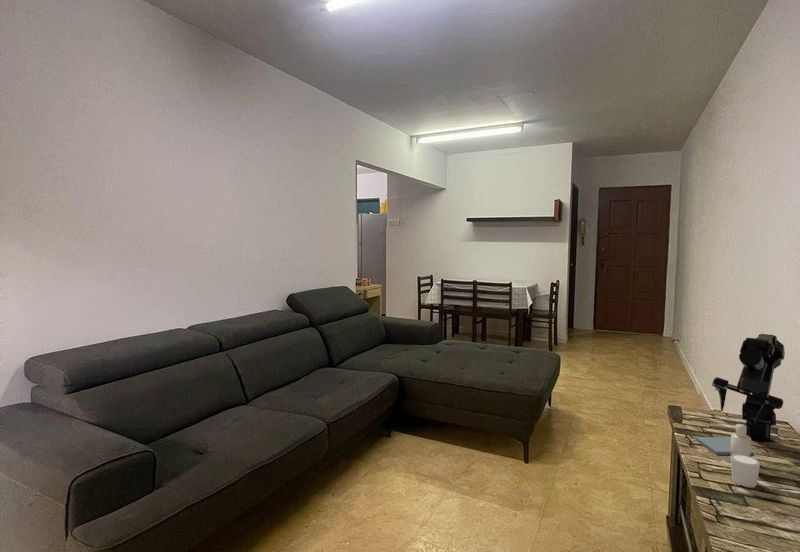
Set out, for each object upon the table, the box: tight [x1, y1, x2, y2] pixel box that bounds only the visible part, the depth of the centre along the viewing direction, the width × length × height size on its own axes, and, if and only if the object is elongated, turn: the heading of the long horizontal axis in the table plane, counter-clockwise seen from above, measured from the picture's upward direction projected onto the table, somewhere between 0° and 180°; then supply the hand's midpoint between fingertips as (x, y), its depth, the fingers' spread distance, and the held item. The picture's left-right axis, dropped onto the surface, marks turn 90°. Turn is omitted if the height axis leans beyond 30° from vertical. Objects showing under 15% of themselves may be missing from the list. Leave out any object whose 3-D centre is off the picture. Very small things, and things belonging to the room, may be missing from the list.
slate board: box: [695, 436, 754, 456], centre depth 149 cm, size 12×11×1 cm
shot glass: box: [730, 454, 761, 488], centre depth 127 cm, size 7×7×7 cm
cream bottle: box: [729, 423, 752, 463], centre depth 137 cm, size 5×5×12 cm
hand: (738, 416), depth 145 cm, fingers open, 9 cm apart
